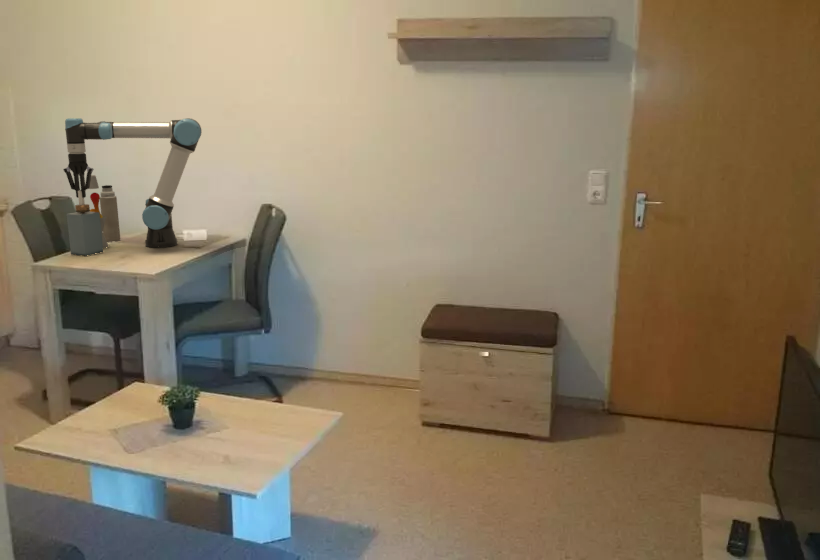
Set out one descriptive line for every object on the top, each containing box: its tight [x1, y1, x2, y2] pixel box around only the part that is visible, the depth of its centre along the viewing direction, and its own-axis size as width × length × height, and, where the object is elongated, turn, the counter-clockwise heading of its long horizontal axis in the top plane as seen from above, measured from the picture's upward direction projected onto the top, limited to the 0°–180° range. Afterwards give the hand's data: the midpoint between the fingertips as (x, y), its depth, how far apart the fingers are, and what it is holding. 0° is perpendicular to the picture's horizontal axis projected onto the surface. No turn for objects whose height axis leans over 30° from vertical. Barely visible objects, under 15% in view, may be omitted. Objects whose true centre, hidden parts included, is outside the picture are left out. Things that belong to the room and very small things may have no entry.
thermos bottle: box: [99, 184, 121, 243], centre depth 390 cm, size 8×8×28 cm
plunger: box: [74, 203, 91, 214], centre depth 358 cm, size 8×8×22 cm
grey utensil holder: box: [66, 211, 104, 257], centre depth 358 cm, size 10×10×19 cm
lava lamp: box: [88, 174, 109, 249], centre depth 371 cm, size 9×9×35 cm
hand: (81, 204), depth 355 cm, fingers closed
